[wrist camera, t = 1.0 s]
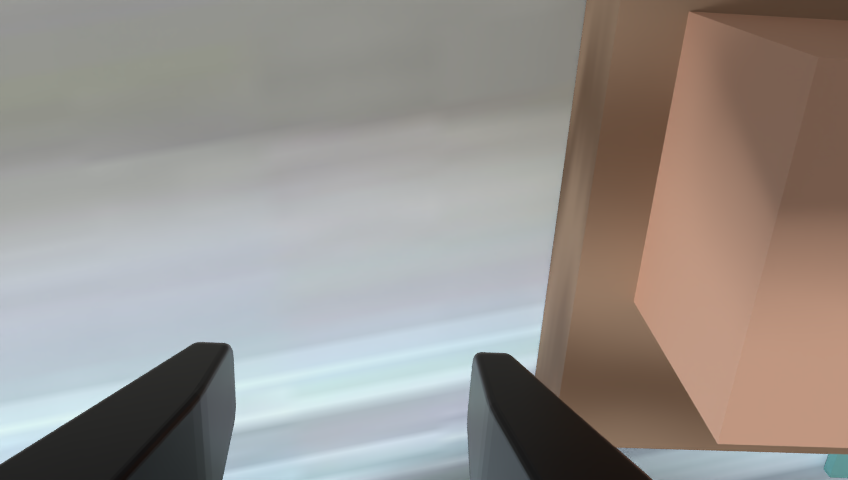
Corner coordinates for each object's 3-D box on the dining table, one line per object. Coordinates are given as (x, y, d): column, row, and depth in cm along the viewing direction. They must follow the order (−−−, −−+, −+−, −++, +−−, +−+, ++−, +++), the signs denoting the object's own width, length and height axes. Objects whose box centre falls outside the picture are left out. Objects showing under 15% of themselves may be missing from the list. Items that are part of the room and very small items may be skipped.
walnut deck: (848, 393, 24) (907, 456, 21) (534, 382, 23) (551, 445, 21) (1043, -186, 17) (1162, -204, 15) (616, -216, 17) (657, -240, 14)
